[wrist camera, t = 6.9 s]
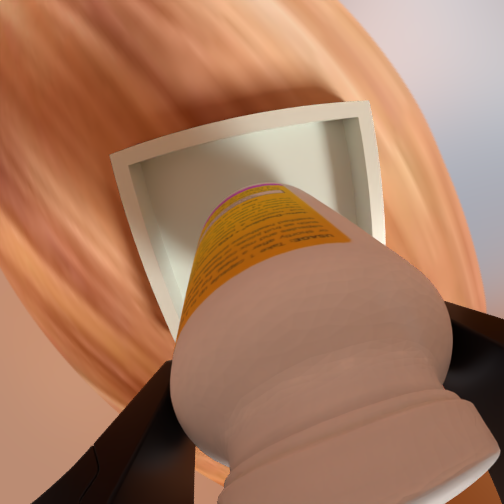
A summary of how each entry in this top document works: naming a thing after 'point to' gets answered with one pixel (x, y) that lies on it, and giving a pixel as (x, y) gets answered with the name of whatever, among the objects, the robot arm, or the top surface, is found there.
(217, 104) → the top surface
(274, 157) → the tray
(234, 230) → the supplement bottle
